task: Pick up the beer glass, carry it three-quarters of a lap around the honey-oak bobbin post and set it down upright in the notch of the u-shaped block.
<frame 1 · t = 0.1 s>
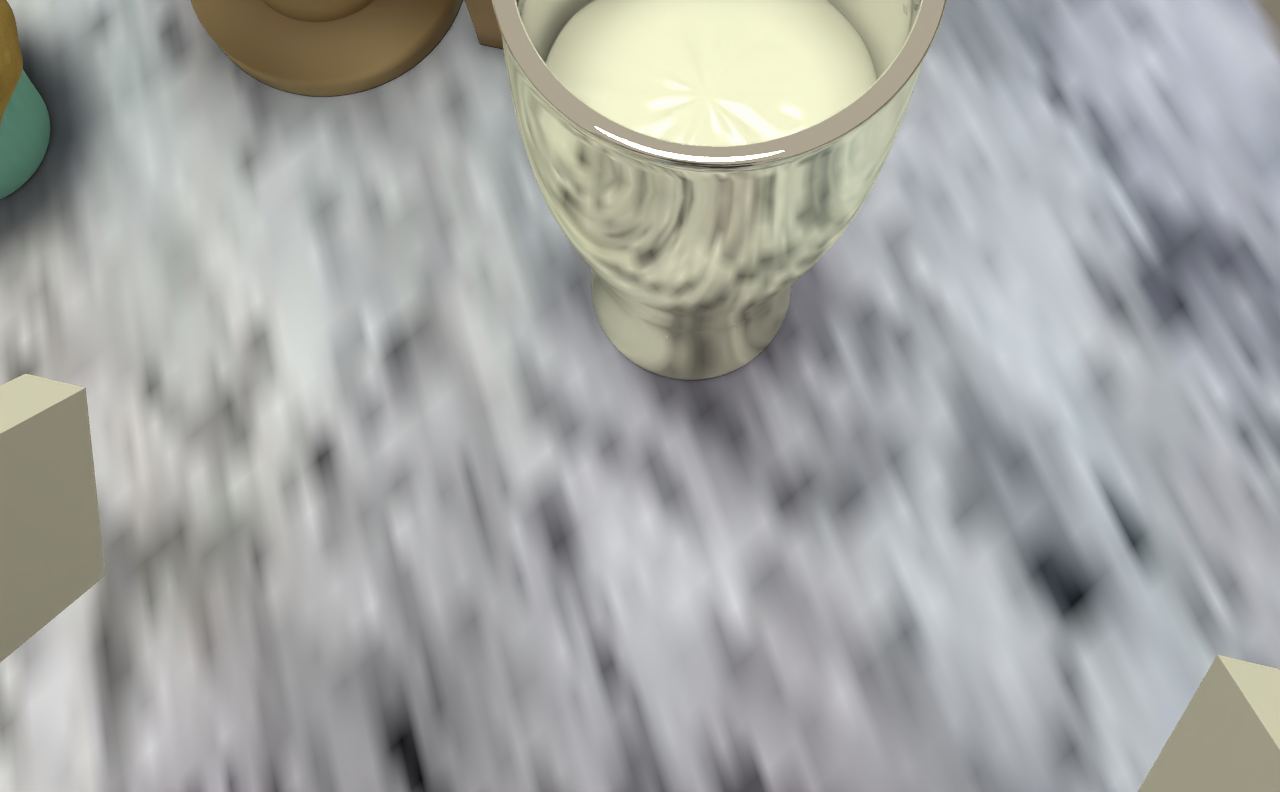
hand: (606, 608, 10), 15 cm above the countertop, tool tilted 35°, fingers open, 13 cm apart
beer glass: (690, 286, 27), on the countertop
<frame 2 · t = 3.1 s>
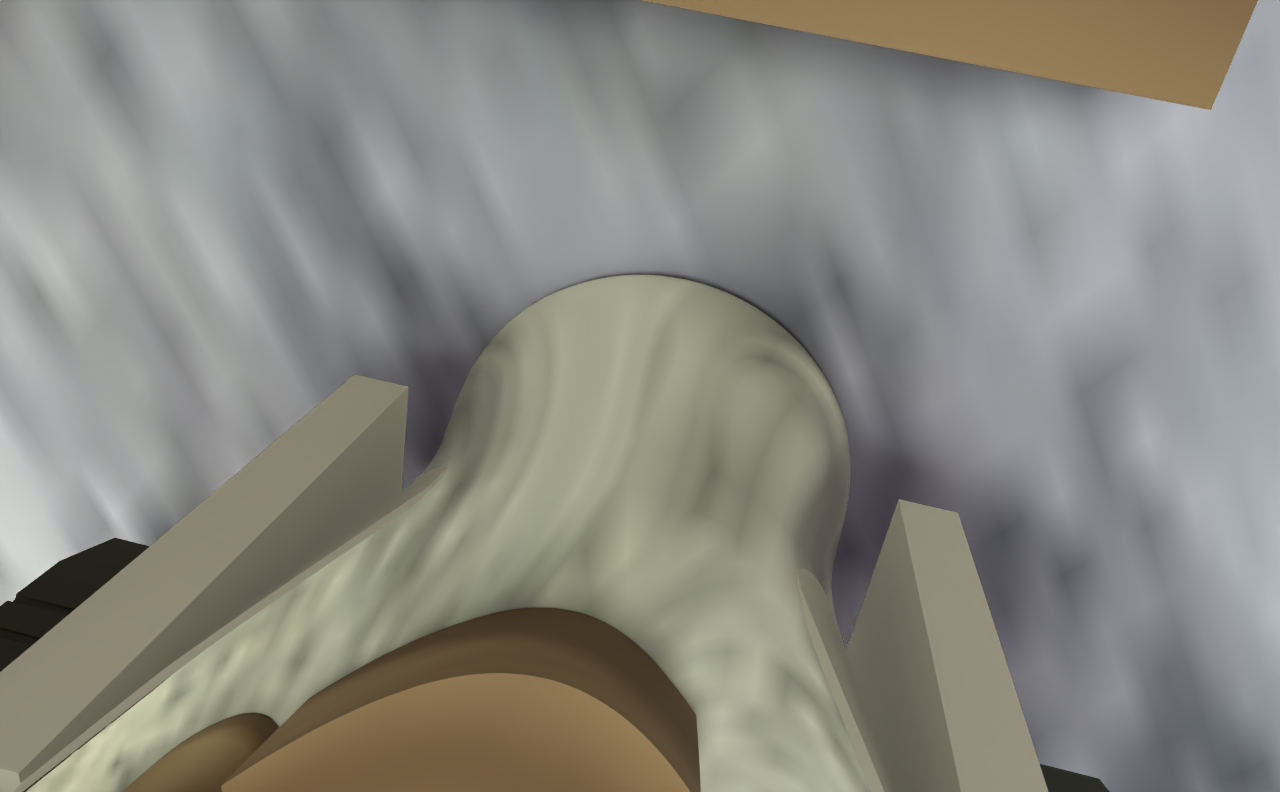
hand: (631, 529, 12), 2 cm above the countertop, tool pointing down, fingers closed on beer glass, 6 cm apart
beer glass: (650, 454, 14), on the countertop, touching gripper
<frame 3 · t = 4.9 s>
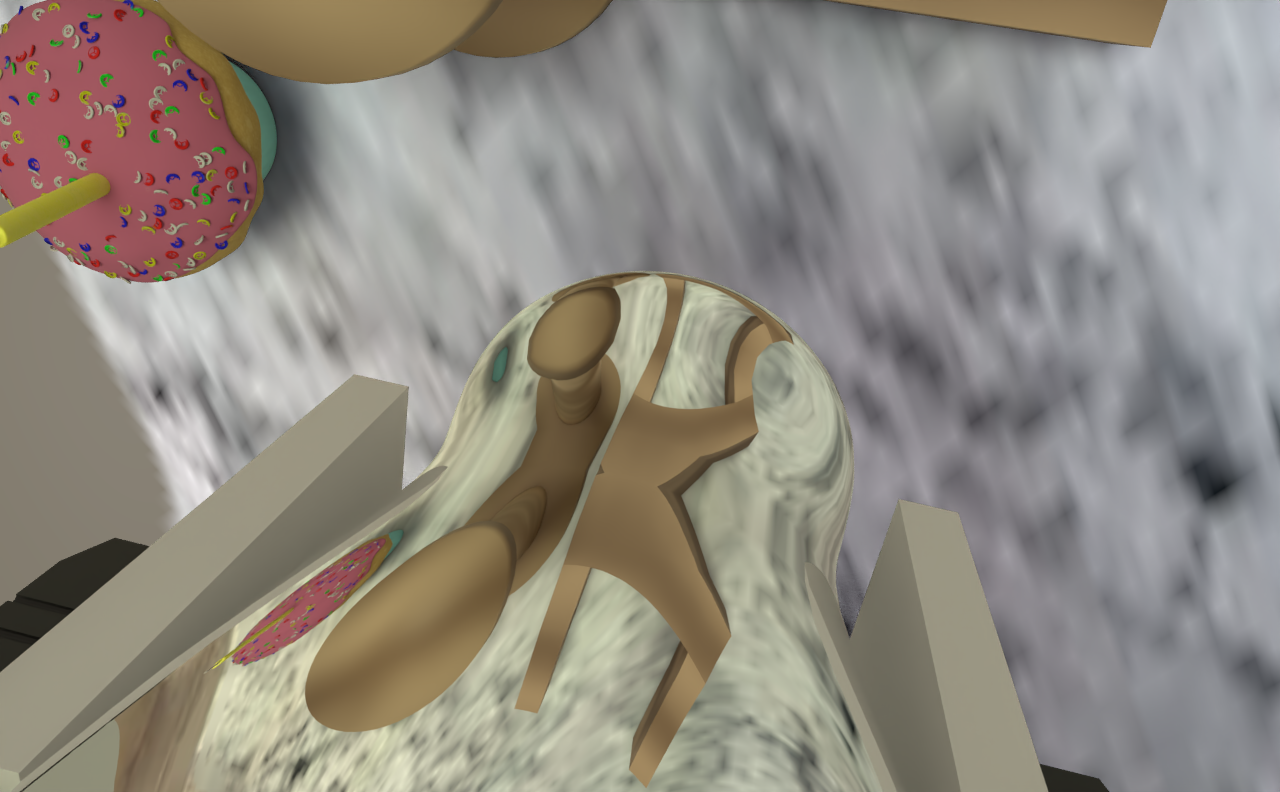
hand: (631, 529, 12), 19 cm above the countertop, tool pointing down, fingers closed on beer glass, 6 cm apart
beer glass: (654, 451, 14), point 17 cm above the countertop, touching gripper
cupcake: (214, 127, 31), on the countertop
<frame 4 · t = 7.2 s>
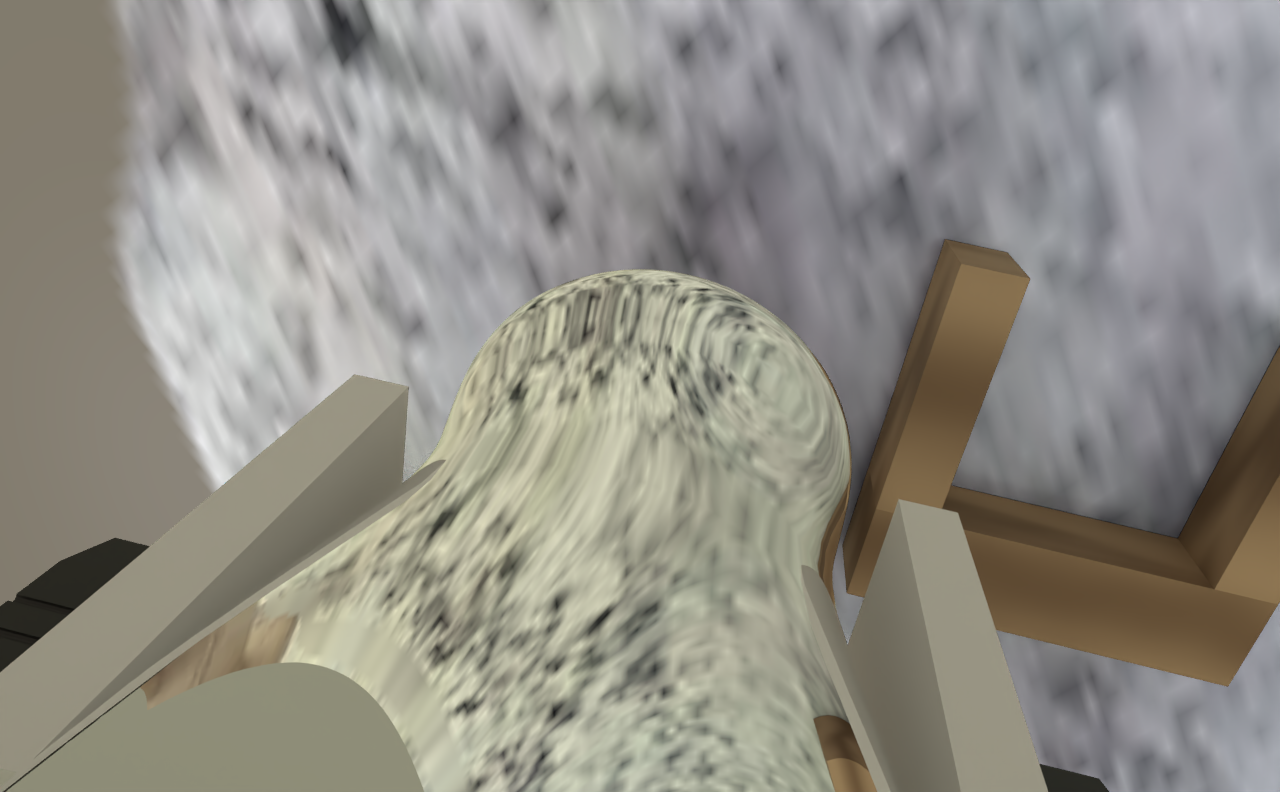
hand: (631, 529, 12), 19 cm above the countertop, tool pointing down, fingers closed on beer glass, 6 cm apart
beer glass: (650, 450, 14), point 17 cm above the countertop, touching gripper
u-shaped block: (1076, 447, 30), on the countertop
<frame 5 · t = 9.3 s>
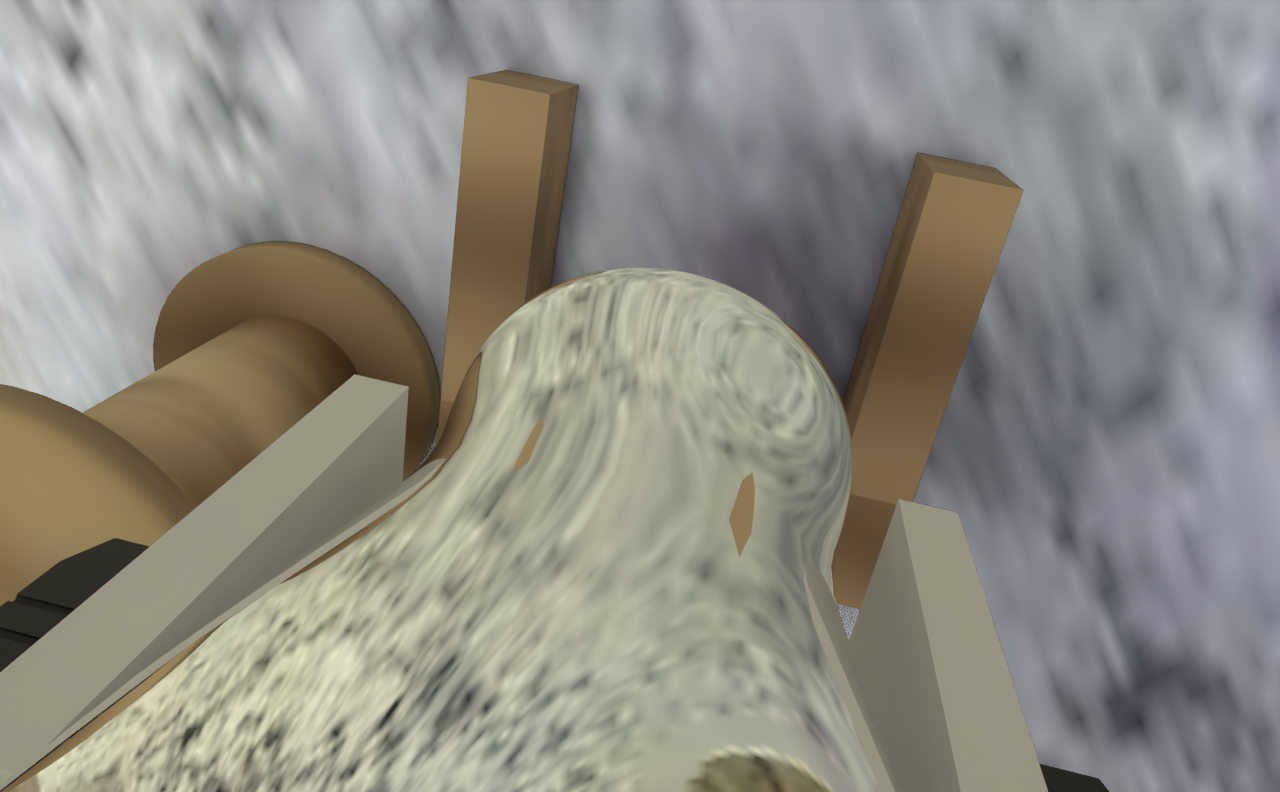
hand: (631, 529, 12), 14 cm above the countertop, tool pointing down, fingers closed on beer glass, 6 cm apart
bobbin: (305, 380, 28), on the countertop
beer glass: (651, 449, 14), point 12 cm above the countertop, touching gripper
u-shaped block: (699, 330, 26), on the countertop
when the fingers open (4 cm above the countertop, at t = 11.4 s): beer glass drops 2 cm, on the countertop.
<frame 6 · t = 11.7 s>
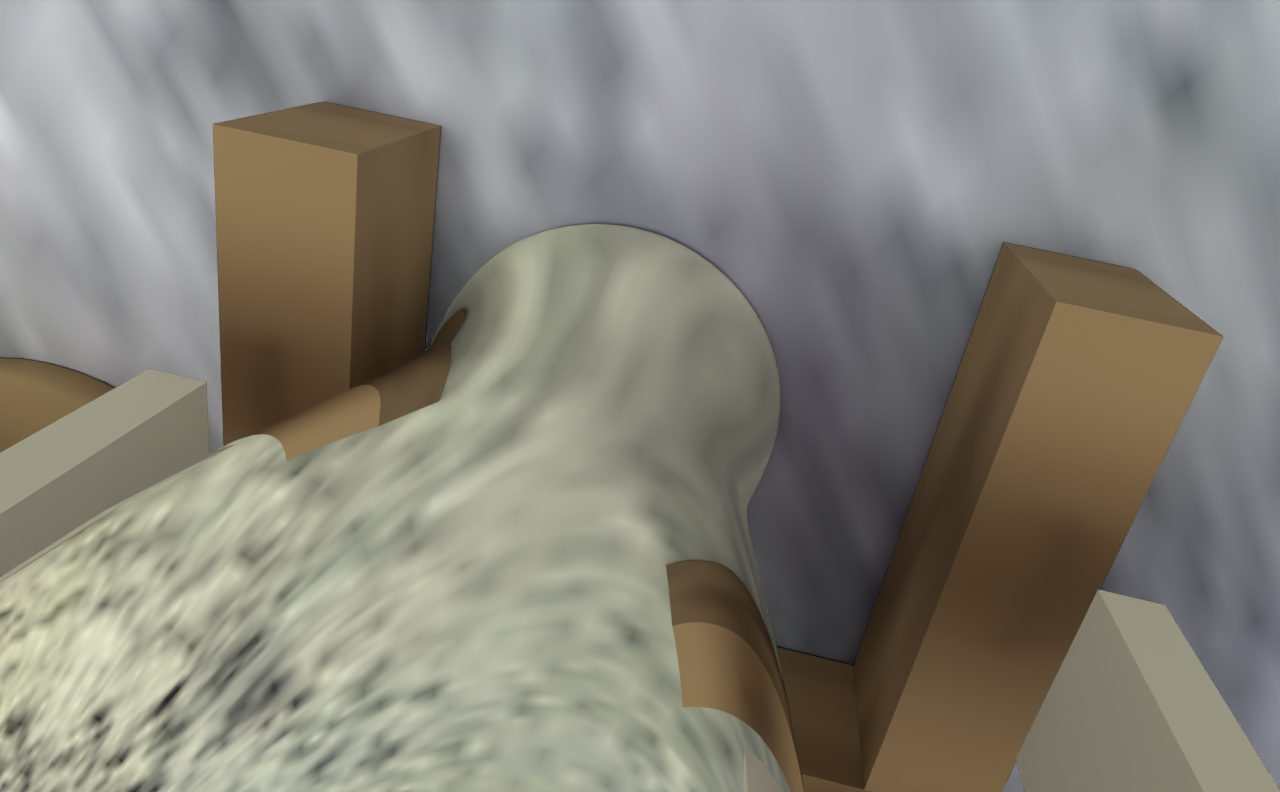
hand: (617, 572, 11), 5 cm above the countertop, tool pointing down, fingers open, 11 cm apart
bobbin: (73, 551, 19), on the countertop
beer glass: (608, 388, 16), on the countertop
u-shaped block: (649, 504, 16), on the countertop
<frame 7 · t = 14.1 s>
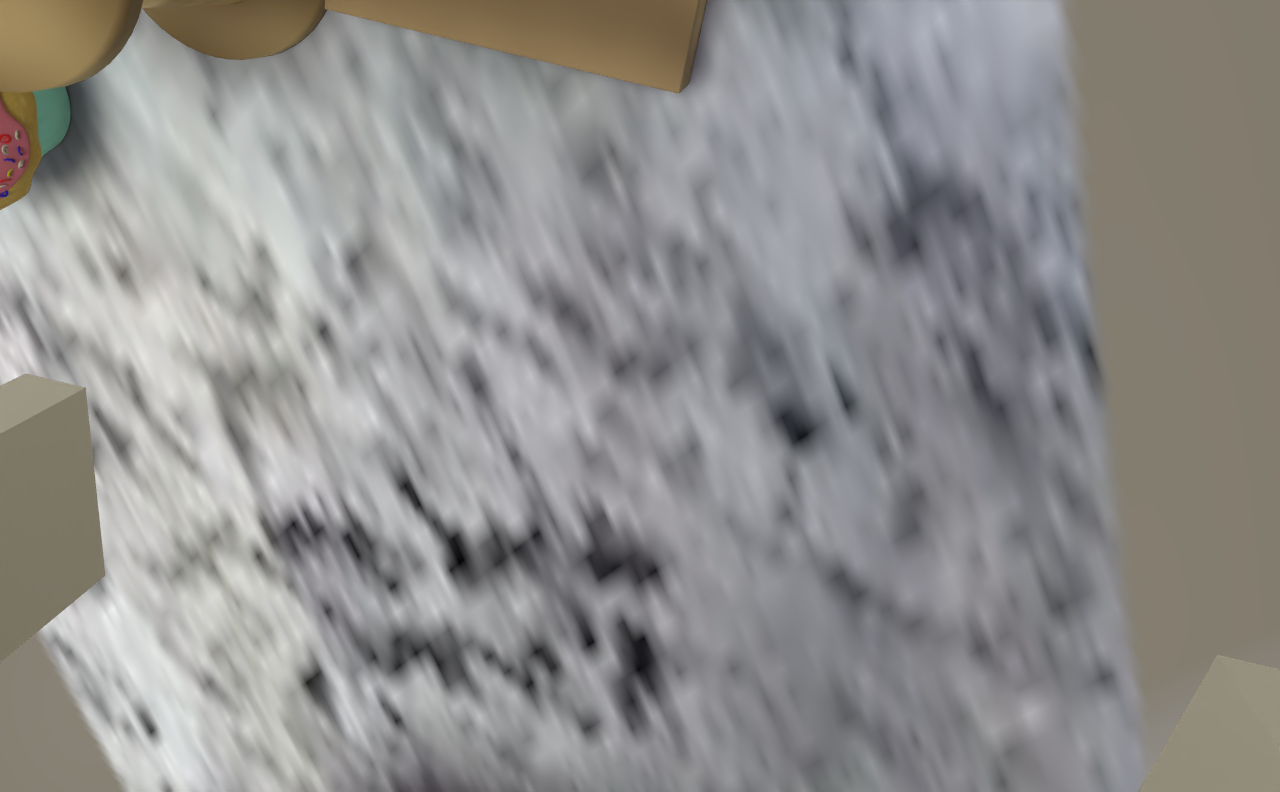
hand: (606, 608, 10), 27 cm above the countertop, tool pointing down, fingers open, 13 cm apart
cupcake: (22, 95, 38), on the countertop
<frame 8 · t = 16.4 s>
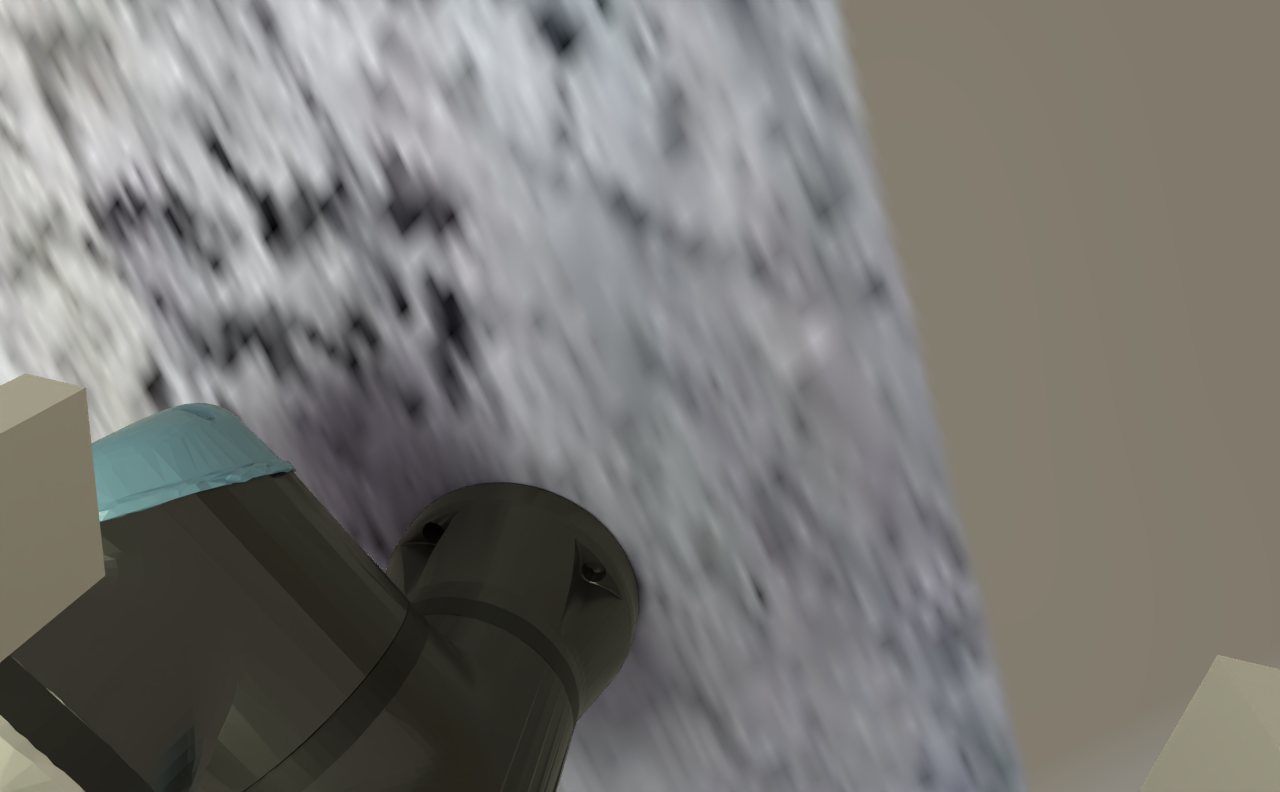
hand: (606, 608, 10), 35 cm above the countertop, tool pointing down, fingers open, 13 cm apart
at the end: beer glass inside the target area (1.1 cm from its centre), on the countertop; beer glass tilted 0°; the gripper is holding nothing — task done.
